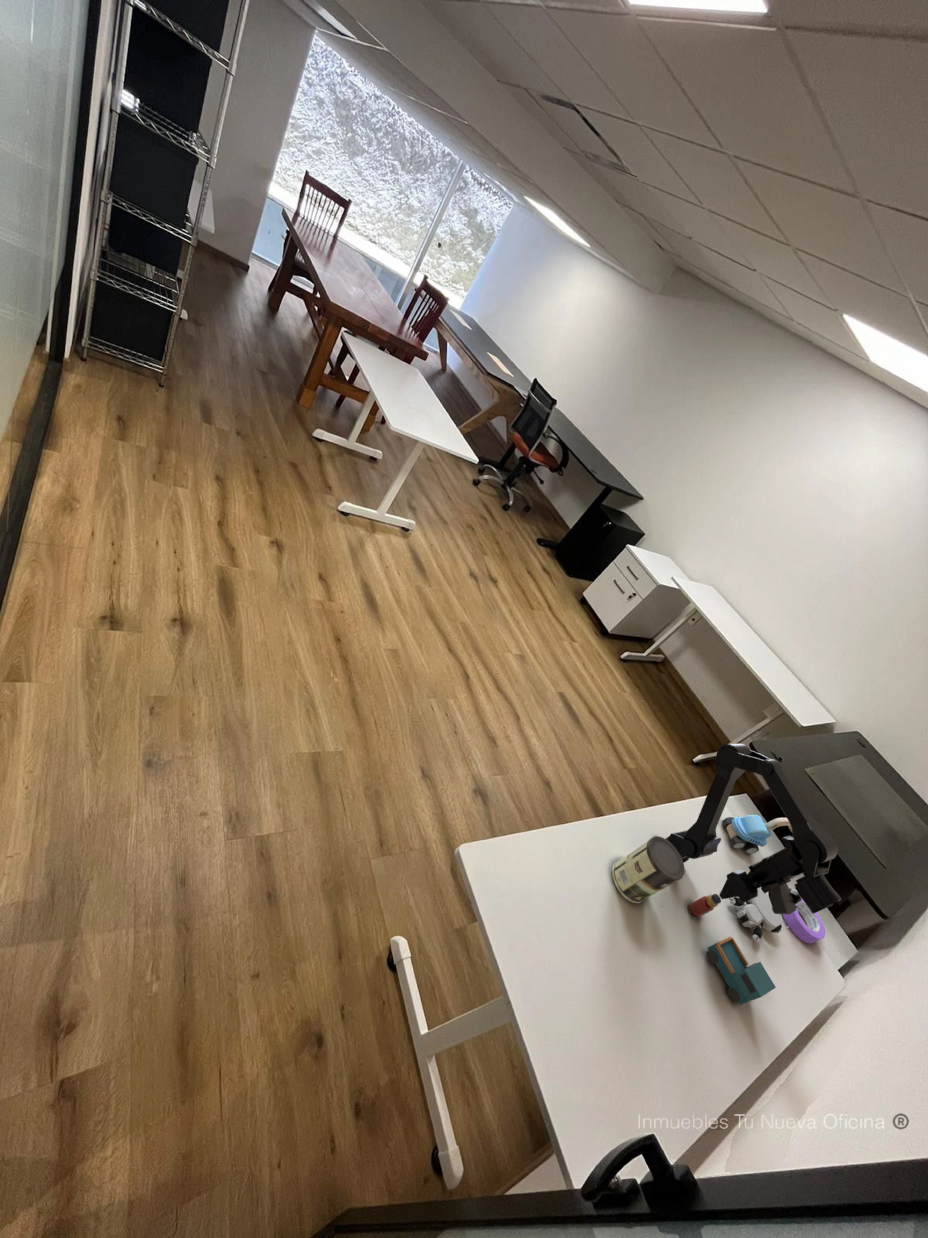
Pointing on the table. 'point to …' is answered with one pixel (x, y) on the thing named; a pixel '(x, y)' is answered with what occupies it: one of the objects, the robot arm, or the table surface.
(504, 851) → the table surface
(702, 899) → the figure
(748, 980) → the truck
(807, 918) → the tape roll
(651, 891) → the coffee can
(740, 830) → the toy excavator
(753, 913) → the robot toy
